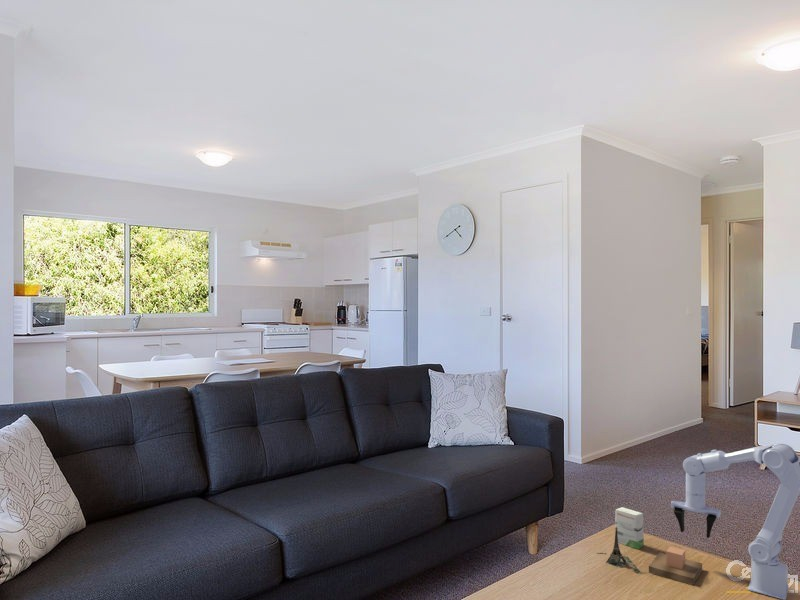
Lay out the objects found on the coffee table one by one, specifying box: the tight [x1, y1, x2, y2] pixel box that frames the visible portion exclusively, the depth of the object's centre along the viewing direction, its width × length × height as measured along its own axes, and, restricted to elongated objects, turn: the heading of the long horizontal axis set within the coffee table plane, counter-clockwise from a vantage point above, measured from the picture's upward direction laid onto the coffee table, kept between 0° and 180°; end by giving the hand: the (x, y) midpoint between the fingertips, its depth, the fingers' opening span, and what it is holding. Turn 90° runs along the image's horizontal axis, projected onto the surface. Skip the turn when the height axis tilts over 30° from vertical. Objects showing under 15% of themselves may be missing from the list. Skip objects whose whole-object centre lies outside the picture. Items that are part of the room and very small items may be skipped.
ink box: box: [614, 506, 645, 550], centre depth 206 cm, size 9×5×12 cm, turn 39°
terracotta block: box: [665, 546, 686, 569], centre depth 185 cm, size 5×5×4 cm
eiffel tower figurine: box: [596, 524, 642, 575], centre depth 191 cm, size 15×10×13 cm
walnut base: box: [648, 551, 703, 586], centre depth 185 cm, size 13×13×2 cm
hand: (695, 534), depth 189 cm, fingers open, 7 cm apart
